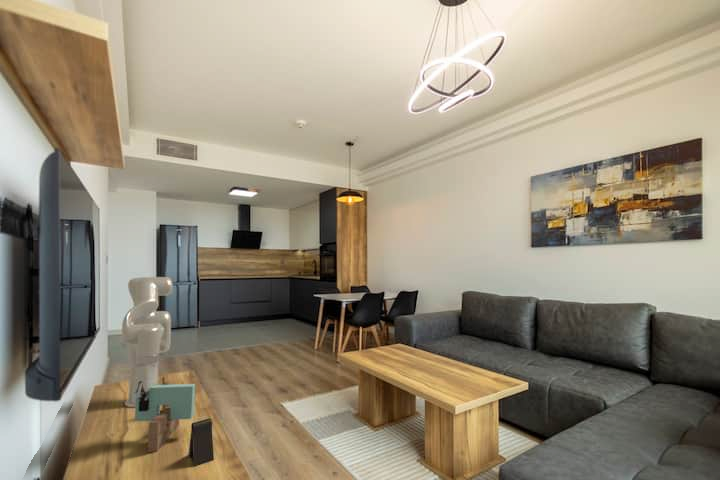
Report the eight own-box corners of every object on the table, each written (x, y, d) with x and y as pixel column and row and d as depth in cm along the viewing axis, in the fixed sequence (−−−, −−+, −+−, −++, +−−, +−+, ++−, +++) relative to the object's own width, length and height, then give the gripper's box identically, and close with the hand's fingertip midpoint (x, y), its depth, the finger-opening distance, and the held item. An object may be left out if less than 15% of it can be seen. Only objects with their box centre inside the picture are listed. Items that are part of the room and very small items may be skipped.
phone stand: (213, 460, 116) (214, 423, 117) (194, 466, 112) (195, 428, 113) (206, 448, 123) (207, 414, 124) (188, 454, 119) (189, 418, 120)
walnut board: (171, 425, 140) (171, 400, 141) (178, 425, 141) (179, 400, 142) (147, 452, 121) (149, 422, 121) (157, 451, 121) (158, 422, 122)
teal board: (138, 417, 131) (140, 385, 132) (193, 415, 134) (195, 383, 135) (134, 421, 128) (136, 388, 129) (191, 418, 131) (192, 386, 132)
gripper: (147, 354, 139) (145, 401, 138) (125, 366, 123) (123, 419, 122) (167, 353, 140) (165, 399, 139) (148, 365, 124) (146, 417, 123)
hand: (146, 408), depth 131 cm, fingers closed on teal board, 3 cm apart
